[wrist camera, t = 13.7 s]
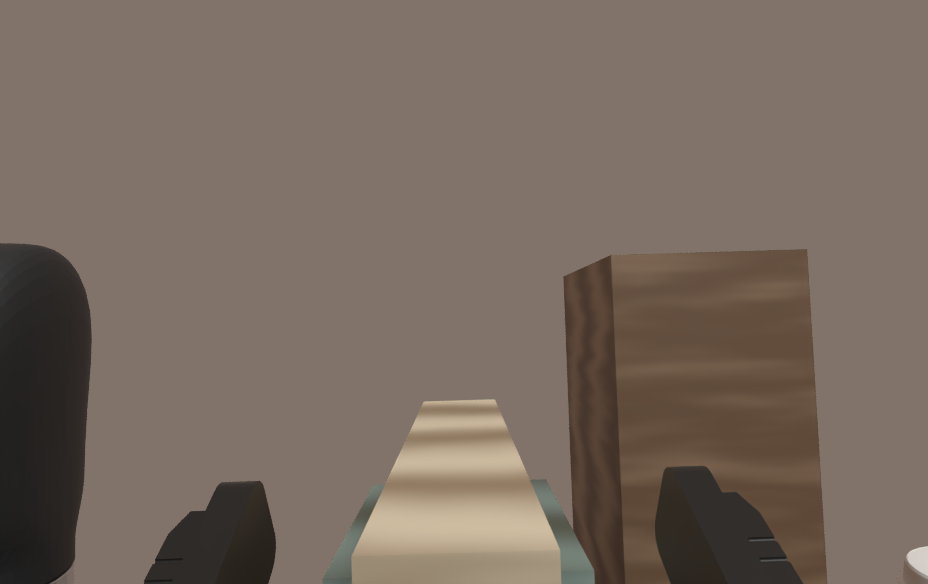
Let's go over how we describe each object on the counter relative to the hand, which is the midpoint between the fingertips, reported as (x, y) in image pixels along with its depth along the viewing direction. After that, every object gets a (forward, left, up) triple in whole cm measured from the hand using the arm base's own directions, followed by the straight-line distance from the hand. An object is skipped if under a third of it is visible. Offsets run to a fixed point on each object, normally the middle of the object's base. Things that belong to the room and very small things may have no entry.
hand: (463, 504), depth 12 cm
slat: (+5, +9, -4) cm, 11 cm away
